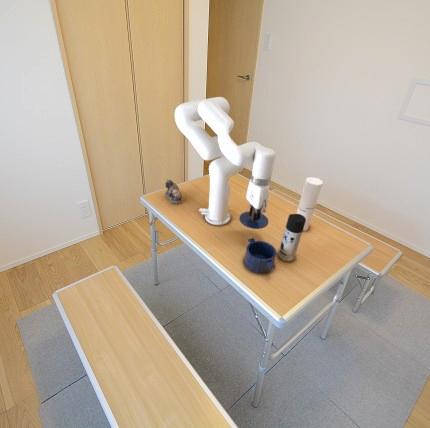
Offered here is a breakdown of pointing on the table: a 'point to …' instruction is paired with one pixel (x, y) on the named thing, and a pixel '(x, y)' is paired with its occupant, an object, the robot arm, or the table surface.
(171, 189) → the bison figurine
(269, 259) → the pan
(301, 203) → the cylindrical container
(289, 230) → the spray can
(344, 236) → the table surface
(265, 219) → the pan lid
